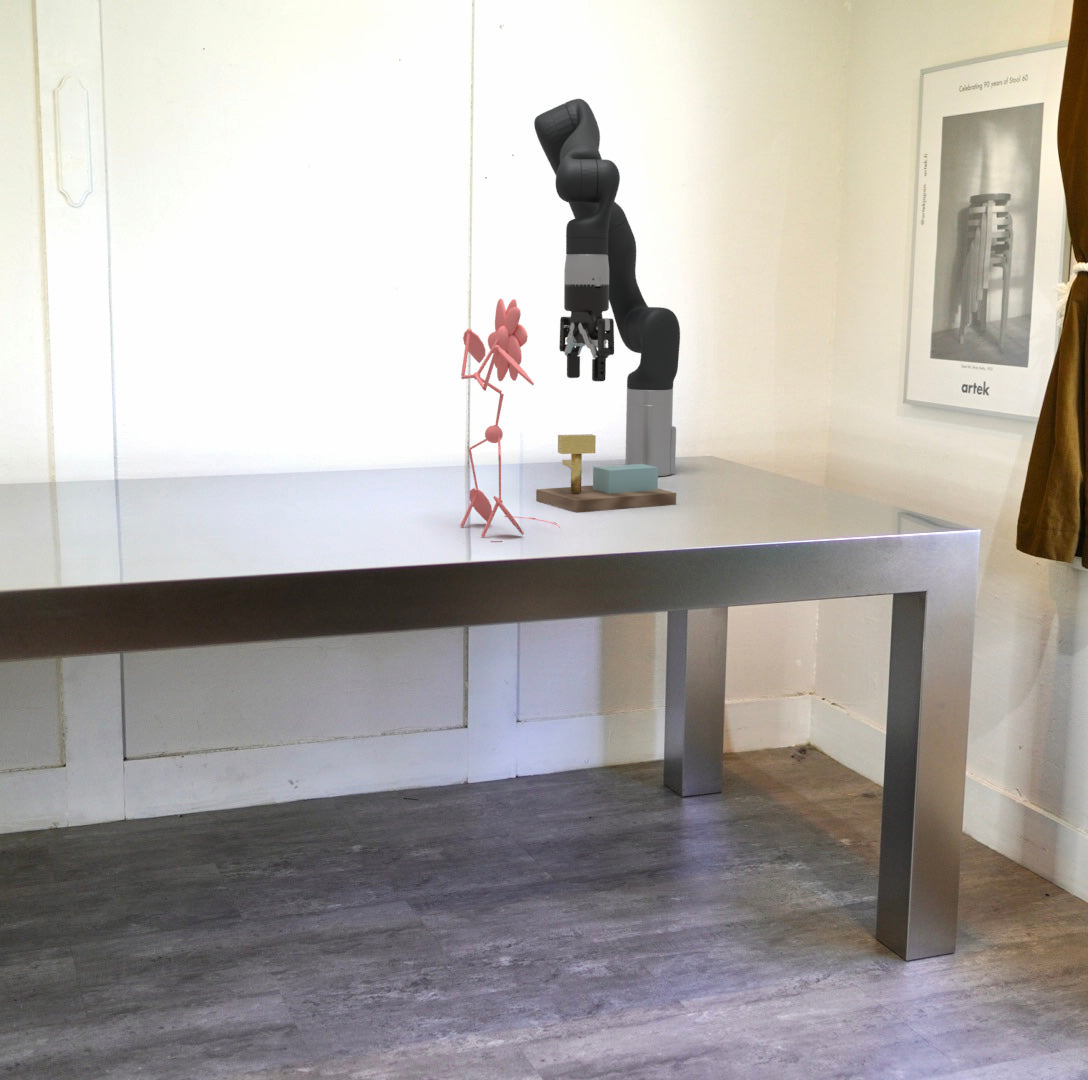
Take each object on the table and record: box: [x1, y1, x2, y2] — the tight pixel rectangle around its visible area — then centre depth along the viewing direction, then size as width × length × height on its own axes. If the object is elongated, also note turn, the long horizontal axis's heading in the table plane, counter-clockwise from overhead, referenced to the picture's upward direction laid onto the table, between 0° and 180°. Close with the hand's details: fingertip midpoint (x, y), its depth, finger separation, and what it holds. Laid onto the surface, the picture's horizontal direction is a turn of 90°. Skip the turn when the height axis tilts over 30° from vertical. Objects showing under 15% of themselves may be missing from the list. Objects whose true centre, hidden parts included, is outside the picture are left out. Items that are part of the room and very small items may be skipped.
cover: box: [592, 464, 659, 494], centre depth 234 cm, size 10×5×4 cm, turn 119°
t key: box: [557, 433, 597, 493], centre depth 231 cm, size 7×6×10 cm
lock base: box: [535, 484, 677, 513], centre depth 233 cm, size 20×14×2 cm
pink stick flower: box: [459, 298, 561, 543], centre depth 202 cm, size 15×26×35 cm, turn 24°
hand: (585, 379), depth 227 cm, fingers open, 8 cm apart
